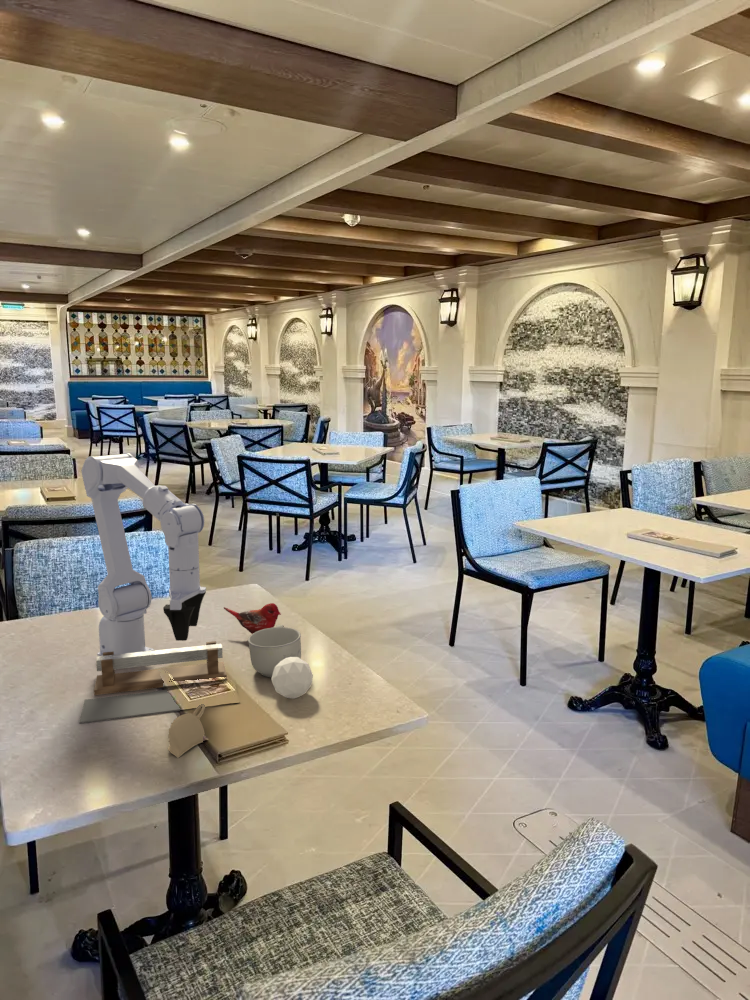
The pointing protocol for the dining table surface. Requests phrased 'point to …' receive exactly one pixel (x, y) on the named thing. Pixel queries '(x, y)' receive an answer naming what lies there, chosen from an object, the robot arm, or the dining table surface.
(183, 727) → the decorative ornament
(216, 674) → the hook stands
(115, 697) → the mat
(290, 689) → the geometric ball
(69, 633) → the dining table surface
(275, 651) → the teacup
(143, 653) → the steel bar
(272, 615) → the decorative bird figurine
